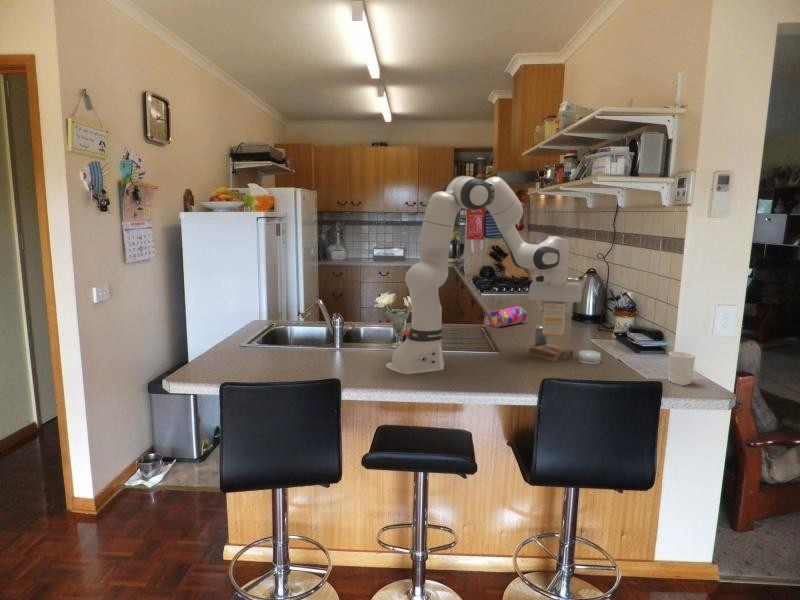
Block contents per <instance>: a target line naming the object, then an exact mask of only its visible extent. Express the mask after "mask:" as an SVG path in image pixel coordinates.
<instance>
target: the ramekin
mask: <svg viewBox="0 0 800 600" xmlns="http://www.w3.org/2000/svg"><path fill="white" fill-rule="evenodd" d="M601 355H602V354H601V352H599V351H597V350H589V349H582V350H579V351H578V361H579V362H581V363H584V364H589V365H598V364H600V363H601Z"/></svg>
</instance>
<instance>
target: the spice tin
mask: <svg viewBox="0 0 800 600" xmlns="http://www.w3.org/2000/svg"><path fill="white" fill-rule="evenodd" d="M534 327H535V328H534V329H535V334H534V335H535V337H534V338H535V339H534V347H537V346H542V345H546V344H548V335H543V334H542V324H536V325H535V326H534Z"/></svg>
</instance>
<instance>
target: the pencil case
mask: <svg viewBox="0 0 800 600" xmlns="http://www.w3.org/2000/svg"><path fill="white" fill-rule="evenodd" d="M527 315H528V313H527V311H526V310H525V309H524V308H523V307H522V306H519V305H518V306H512V307H506V308H503V309H499V310H498V309H494V310H492V311H491V312H490V313H489V317H488V322H489V324H490V326H491V327H494V328H500V327H506V326H511V325H515V324H520V323H523V322H525V321H526V320H527V319H526V318H527V317H528V316H527Z"/></svg>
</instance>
